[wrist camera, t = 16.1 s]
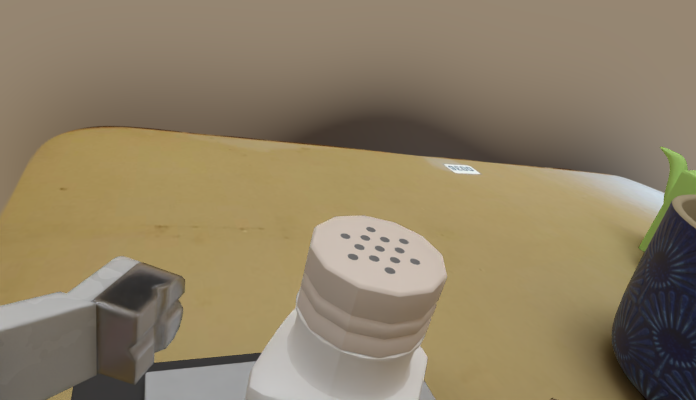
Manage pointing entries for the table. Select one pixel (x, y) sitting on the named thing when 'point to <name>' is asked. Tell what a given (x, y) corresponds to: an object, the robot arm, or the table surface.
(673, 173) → the kettle
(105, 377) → the scale
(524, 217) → the table surface
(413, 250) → the pepper shaker
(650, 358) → the planter
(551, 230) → the table surface
